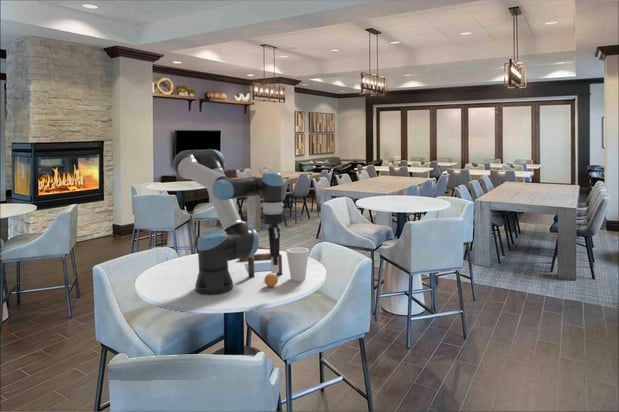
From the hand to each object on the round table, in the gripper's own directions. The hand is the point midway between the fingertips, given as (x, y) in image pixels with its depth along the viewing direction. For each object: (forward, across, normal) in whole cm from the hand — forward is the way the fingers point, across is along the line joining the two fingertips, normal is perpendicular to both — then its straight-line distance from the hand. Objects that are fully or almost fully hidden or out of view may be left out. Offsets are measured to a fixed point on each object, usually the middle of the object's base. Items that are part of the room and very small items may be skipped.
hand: (275, 272), depth 175 cm
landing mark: (+9, +40, 0) cm, 41 cm away
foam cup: (+9, +17, -13) cm, 23 cm away
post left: (+9, +26, +7) cm, 28 cm away
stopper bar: (+8, +55, 0) cm, 56 cm away
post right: (+9, +26, -6) cm, 28 cm away
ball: (+6, +10, 0) cm, 12 cm away
